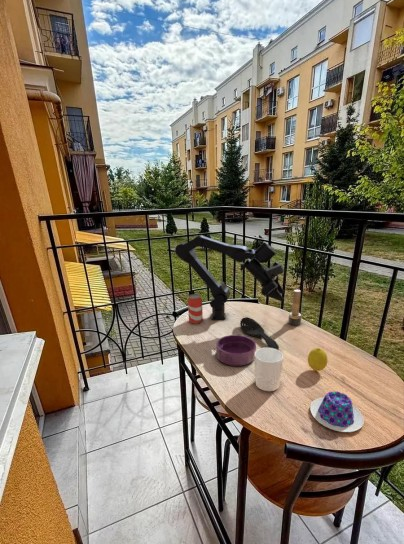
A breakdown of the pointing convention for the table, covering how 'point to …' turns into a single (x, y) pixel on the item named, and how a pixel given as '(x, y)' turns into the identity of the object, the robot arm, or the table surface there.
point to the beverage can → (195, 309)
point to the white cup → (268, 368)
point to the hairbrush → (256, 331)
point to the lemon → (317, 359)
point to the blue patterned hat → (337, 412)
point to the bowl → (235, 350)
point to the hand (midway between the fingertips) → (283, 297)
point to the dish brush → (295, 309)
